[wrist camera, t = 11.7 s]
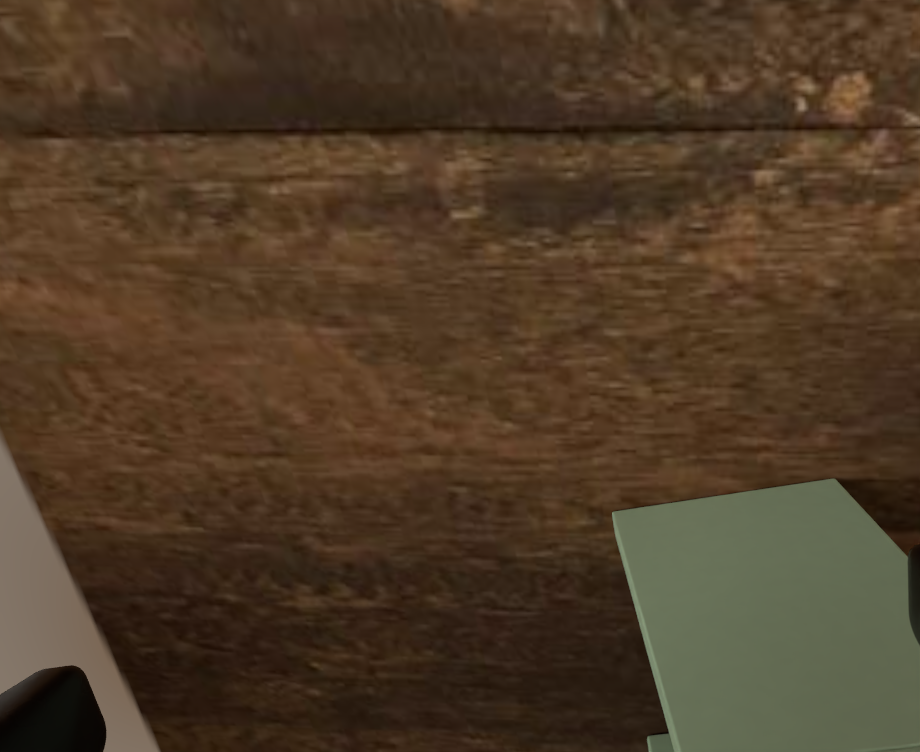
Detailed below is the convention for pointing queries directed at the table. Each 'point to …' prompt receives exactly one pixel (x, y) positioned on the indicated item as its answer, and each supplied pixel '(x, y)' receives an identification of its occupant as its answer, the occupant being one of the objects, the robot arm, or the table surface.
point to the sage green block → (774, 622)
